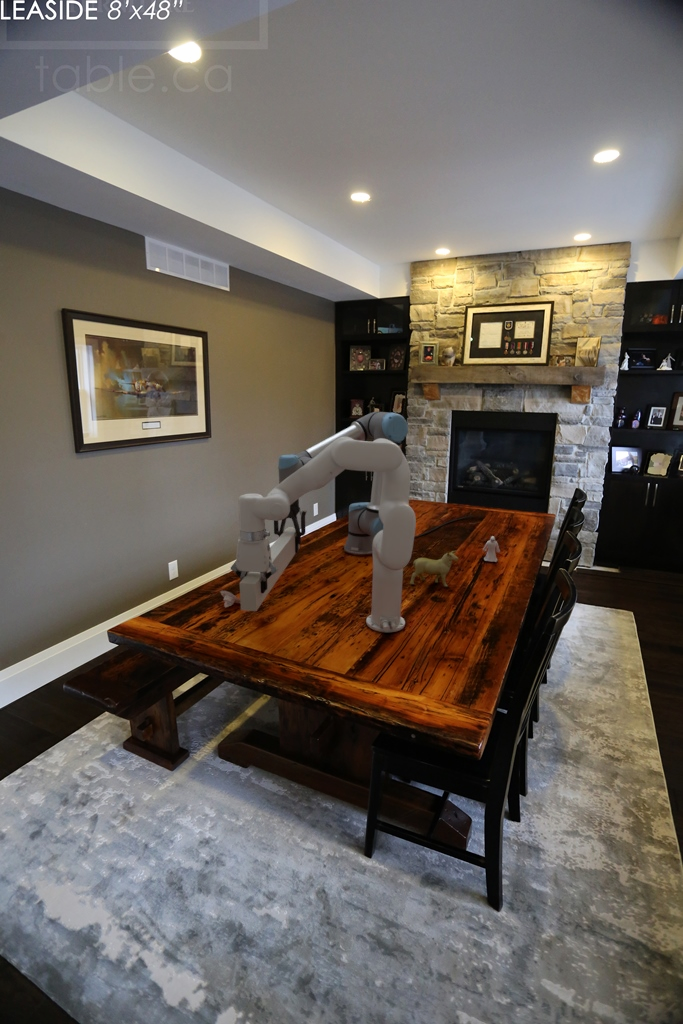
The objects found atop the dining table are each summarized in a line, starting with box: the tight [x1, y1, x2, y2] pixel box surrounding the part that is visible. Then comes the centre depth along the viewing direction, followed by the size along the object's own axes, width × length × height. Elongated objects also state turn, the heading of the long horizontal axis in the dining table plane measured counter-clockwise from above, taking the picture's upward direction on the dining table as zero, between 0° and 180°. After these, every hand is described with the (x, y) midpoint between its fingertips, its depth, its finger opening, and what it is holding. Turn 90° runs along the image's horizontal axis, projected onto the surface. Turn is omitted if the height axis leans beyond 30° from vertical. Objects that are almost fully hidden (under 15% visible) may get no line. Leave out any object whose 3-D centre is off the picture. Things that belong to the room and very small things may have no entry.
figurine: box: [482, 535, 501, 563], centre depth 223 cm, size 8×8×12 cm
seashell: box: [219, 590, 241, 609], centre depth 173 cm, size 8×5×8 cm
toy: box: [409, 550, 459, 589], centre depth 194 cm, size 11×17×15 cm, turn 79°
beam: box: [239, 526, 301, 612], centre depth 177 cm, size 61×5×9 cm, turn 173°
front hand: (254, 590), depth 155 cm, fingers closed on beam, 4 cm apart
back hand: (290, 551), depth 201 cm, fingers closed on beam, 5 cm apart
